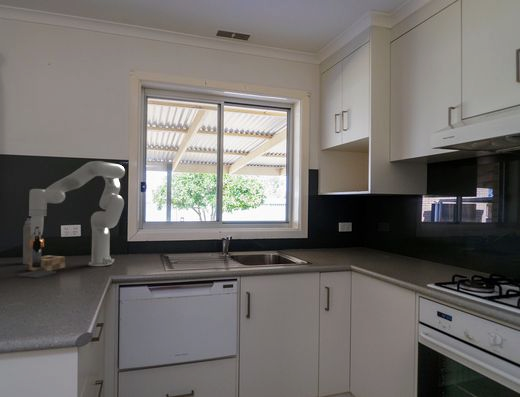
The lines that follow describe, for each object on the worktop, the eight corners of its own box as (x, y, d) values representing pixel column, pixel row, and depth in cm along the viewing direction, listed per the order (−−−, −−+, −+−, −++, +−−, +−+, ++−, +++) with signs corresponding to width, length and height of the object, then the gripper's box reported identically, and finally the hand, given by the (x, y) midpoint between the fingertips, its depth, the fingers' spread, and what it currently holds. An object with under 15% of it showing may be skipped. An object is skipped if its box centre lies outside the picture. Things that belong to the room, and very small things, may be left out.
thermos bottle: (32, 261, 207) (33, 215, 207) (42, 262, 205) (43, 216, 205) (19, 263, 200) (20, 216, 200) (29, 264, 197) (30, 216, 197)
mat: (56, 273, 179) (56, 271, 179) (36, 278, 167) (36, 276, 167) (37, 271, 182) (37, 269, 182) (16, 276, 170) (16, 274, 170)
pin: (36, 265, 178) (37, 238, 178) (46, 266, 176) (46, 238, 176) (26, 267, 172) (27, 239, 172) (36, 268, 170) (36, 240, 170)
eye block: (64, 267, 193) (65, 256, 193) (46, 271, 181) (47, 260, 181) (47, 265, 196) (47, 255, 196) (28, 270, 184) (28, 259, 184)
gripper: (30, 212, 180) (29, 246, 180) (27, 213, 165) (27, 251, 165) (46, 212, 183) (46, 245, 183) (46, 213, 169) (45, 250, 169)
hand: (37, 247), depth 174 cm, fingers closed on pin, 6 cm apart
